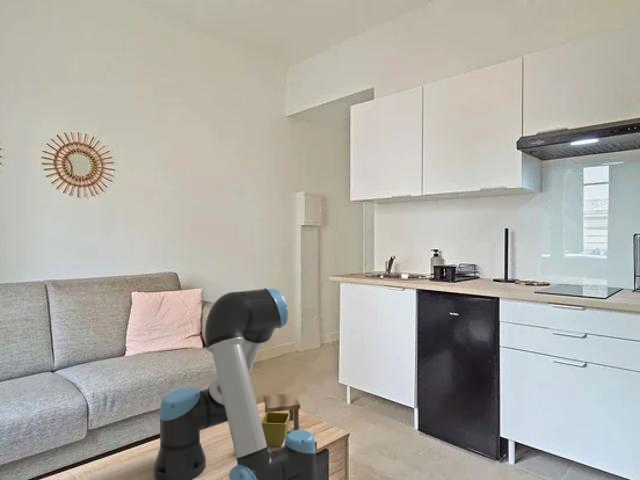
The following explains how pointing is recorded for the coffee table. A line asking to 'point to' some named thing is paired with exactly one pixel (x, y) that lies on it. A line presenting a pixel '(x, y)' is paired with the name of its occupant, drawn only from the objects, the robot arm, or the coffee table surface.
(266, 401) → the stool
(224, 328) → the robot arm
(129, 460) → the coffee table surface
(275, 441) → the flower pot
